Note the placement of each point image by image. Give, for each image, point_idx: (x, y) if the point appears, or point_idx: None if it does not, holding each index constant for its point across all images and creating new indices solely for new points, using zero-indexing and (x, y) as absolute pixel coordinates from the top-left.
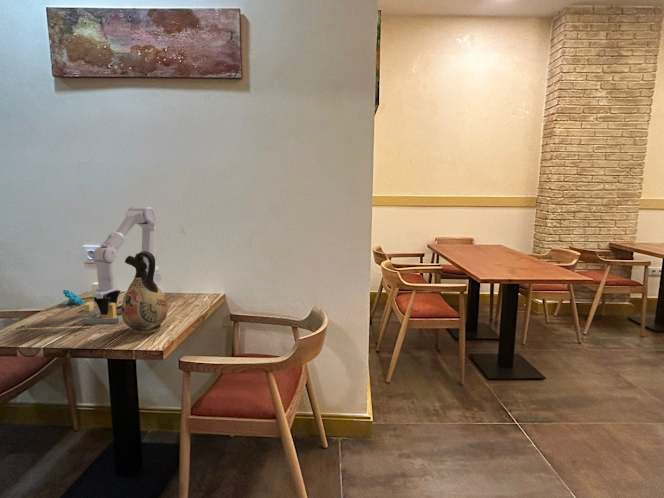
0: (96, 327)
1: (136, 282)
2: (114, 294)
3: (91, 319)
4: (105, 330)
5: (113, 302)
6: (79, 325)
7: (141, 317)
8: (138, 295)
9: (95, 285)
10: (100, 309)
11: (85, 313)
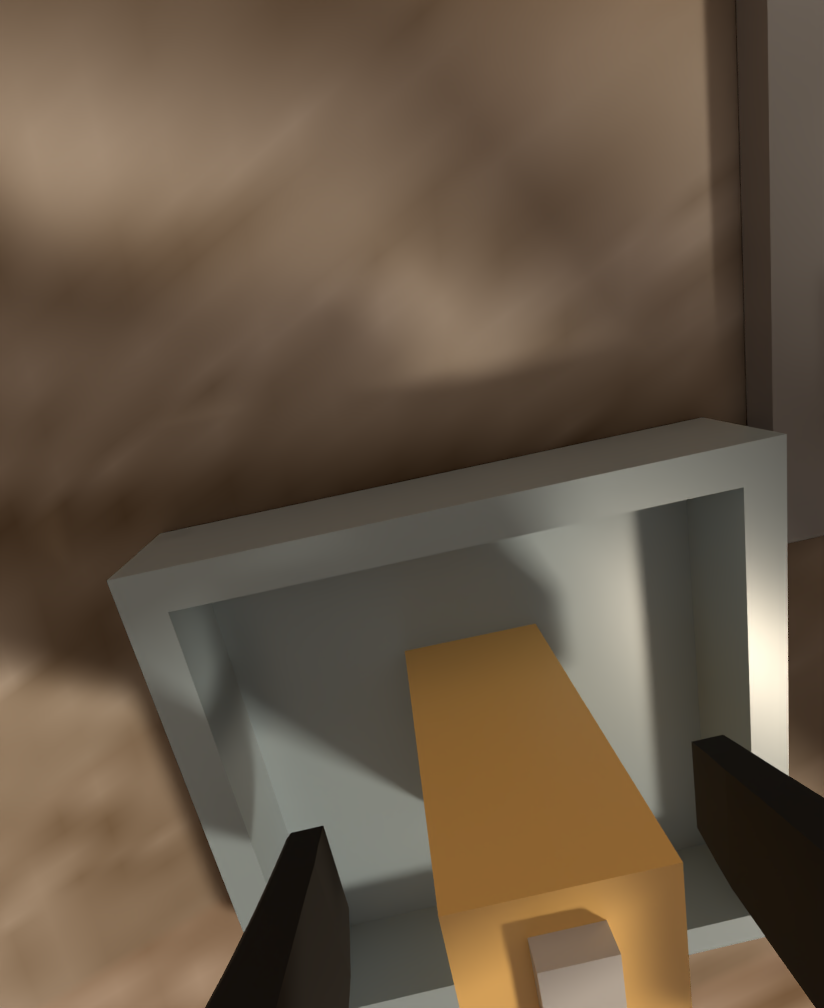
0: (125, 741)
1: None
2: None
3: (149, 684)
4: (44, 922)
5: (815, 957)
6: (148, 407)
7: None
8: None
9: None
10: (243, 966)
11: (789, 56)
